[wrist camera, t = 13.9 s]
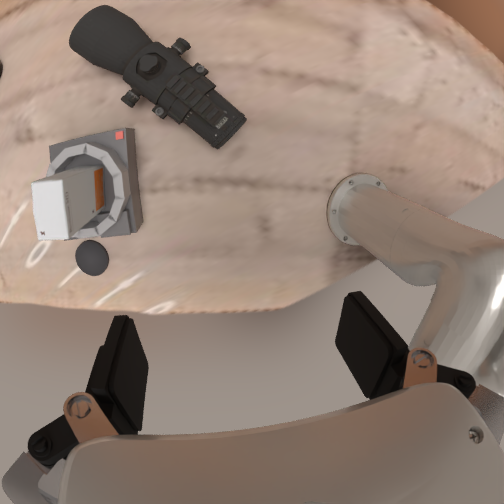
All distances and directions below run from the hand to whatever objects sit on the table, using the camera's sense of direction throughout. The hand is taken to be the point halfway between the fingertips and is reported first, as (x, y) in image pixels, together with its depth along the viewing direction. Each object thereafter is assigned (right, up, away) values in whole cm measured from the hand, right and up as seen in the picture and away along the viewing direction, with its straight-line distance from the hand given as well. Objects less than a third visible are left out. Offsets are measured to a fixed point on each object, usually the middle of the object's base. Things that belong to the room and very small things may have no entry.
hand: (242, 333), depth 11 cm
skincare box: (-21, +12, +19) cm, 31 cm away
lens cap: (-26, +3, +28) cm, 38 cm away
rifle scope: (-12, +27, +19) cm, 36 cm away
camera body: (-22, +14, +23) cm, 35 cm away
